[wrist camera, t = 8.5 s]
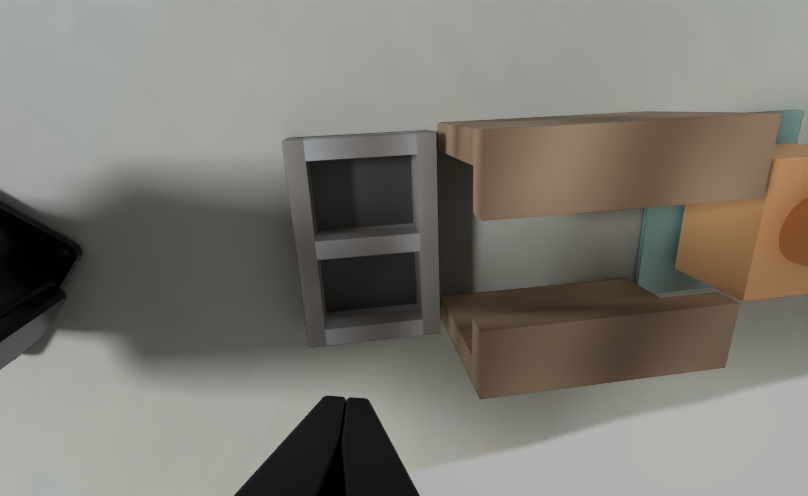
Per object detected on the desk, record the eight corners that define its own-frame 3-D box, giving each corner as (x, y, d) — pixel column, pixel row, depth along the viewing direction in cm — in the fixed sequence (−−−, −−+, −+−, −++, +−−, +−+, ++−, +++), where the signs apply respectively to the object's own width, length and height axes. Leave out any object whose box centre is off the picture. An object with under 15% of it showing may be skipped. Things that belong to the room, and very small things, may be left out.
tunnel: (312, 331, 21) (300, 422, 15) (286, 130, 18) (258, 142, 12) (757, 284, 24) (898, 344, 18) (799, 103, 21) (987, 101, 15)
